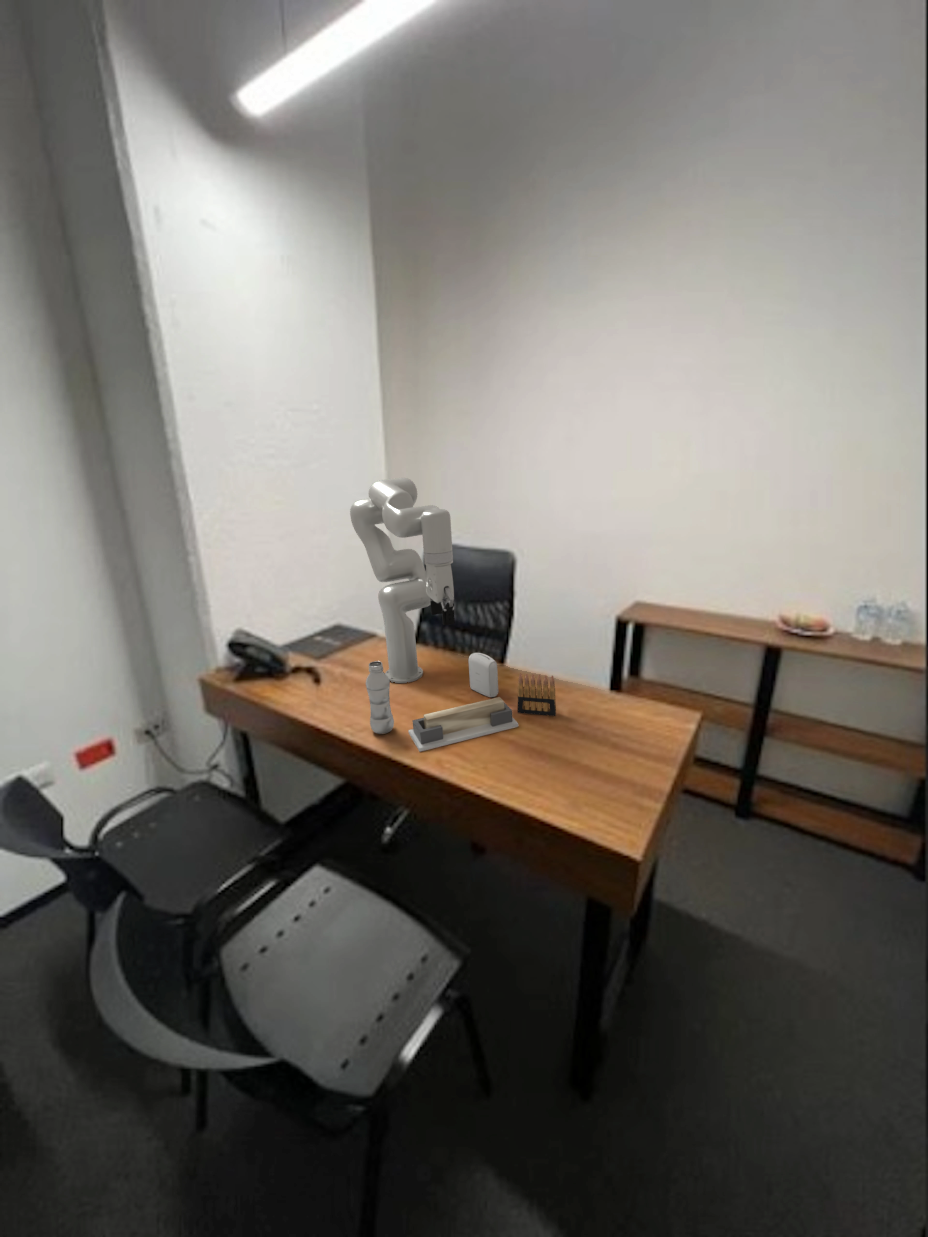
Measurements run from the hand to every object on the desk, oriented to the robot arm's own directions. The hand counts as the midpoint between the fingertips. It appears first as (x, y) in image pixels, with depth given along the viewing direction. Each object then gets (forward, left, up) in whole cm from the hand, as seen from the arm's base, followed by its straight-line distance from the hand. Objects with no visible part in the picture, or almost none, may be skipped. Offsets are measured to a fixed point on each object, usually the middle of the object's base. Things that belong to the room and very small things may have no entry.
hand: (442, 619), depth 154 cm
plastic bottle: (+2, -20, -28) cm, 35 cm away
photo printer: (-7, +14, -29) cm, 33 cm away
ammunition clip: (+12, +22, -29) cm, 38 cm away
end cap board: (+12, 0, -28) cm, 31 cm away
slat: (+12, +1, -27) cm, 30 cm away
